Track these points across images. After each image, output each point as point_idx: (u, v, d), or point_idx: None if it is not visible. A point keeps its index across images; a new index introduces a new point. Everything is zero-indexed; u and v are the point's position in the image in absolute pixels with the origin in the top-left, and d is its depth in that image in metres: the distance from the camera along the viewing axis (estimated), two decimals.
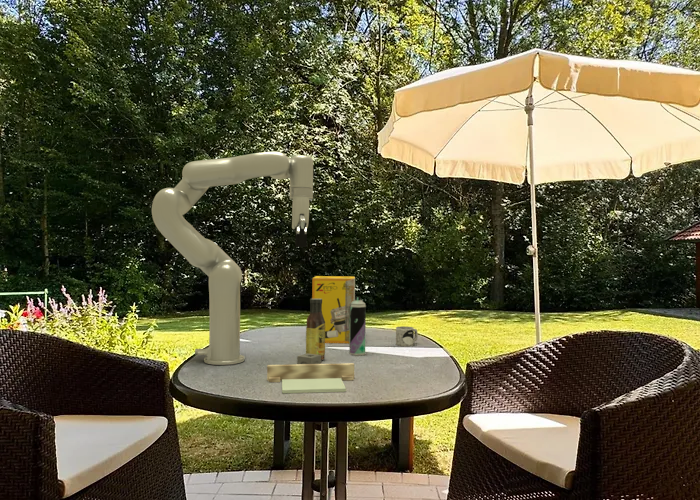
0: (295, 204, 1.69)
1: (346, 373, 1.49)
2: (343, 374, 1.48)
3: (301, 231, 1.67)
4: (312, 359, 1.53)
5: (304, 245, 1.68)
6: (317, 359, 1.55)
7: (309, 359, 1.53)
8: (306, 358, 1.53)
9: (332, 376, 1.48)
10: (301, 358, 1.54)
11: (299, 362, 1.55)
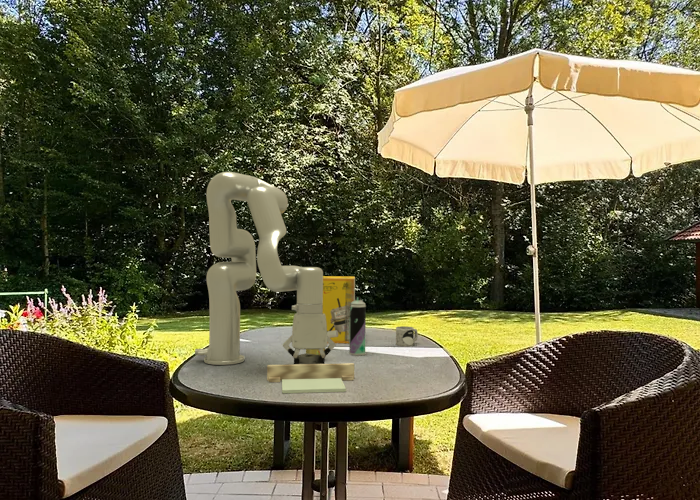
0: (325, 322, 1.54)
1: (346, 373, 1.49)
2: (343, 374, 1.48)
3: None
4: (310, 359, 1.53)
5: None
6: (315, 359, 1.55)
7: (307, 359, 1.53)
8: (304, 358, 1.53)
9: (332, 376, 1.48)
10: (299, 358, 1.54)
11: None
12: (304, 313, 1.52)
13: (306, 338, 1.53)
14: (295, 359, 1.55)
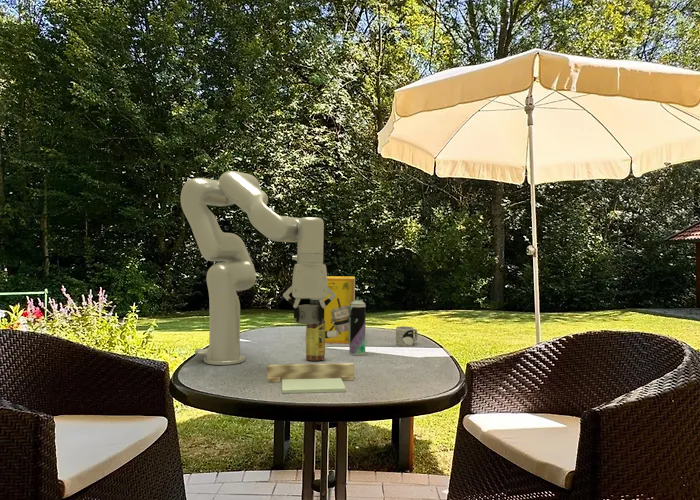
0: (326, 272, 1.55)
1: (346, 373, 1.49)
2: (343, 374, 1.48)
3: (327, 304, 1.56)
4: (310, 308, 1.53)
5: None
6: (315, 309, 1.55)
7: (307, 308, 1.53)
8: (304, 307, 1.53)
9: (332, 376, 1.48)
10: (299, 308, 1.54)
11: None
12: (304, 262, 1.52)
13: (306, 287, 1.53)
14: (295, 309, 1.55)
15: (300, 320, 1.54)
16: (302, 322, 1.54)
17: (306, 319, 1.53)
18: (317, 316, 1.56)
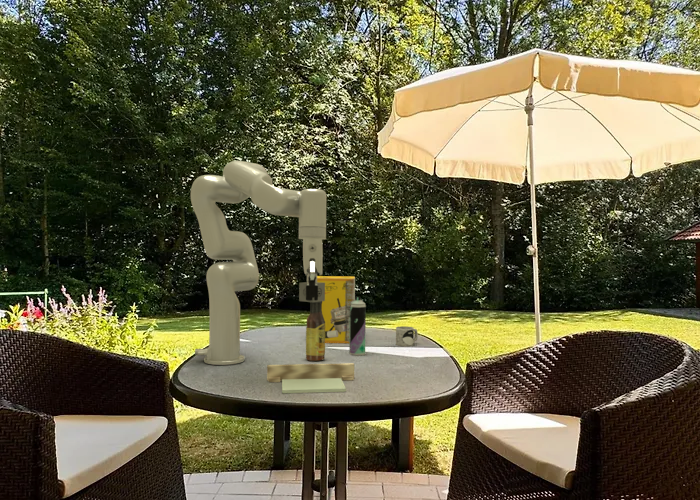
0: None
1: (346, 373, 1.49)
2: (343, 374, 1.48)
3: None
4: None
5: None
6: None
7: (323, 284, 1.48)
8: (321, 284, 1.47)
9: (332, 376, 1.48)
10: (317, 285, 1.45)
11: None
12: (324, 236, 1.46)
13: None
14: (314, 287, 1.44)
15: None
16: (319, 300, 1.46)
17: (322, 296, 1.47)
18: None
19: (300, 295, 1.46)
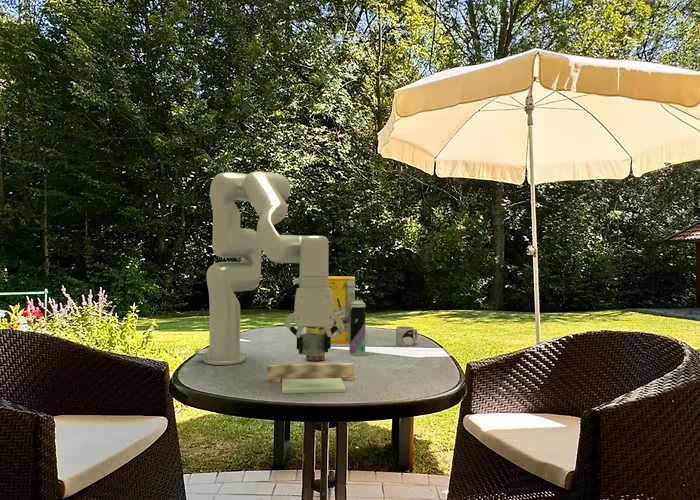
0: (331, 297, 1.38)
1: (346, 373, 1.49)
2: (343, 374, 1.48)
3: None
4: (315, 338, 1.36)
5: None
6: (321, 338, 1.39)
7: (312, 338, 1.36)
8: (308, 337, 1.37)
9: (332, 376, 1.48)
10: (303, 337, 1.38)
11: None
12: (308, 286, 1.36)
13: (310, 314, 1.37)
14: (298, 338, 1.38)
15: (304, 351, 1.38)
16: (306, 353, 1.37)
17: (310, 350, 1.36)
18: (323, 345, 1.39)
19: None
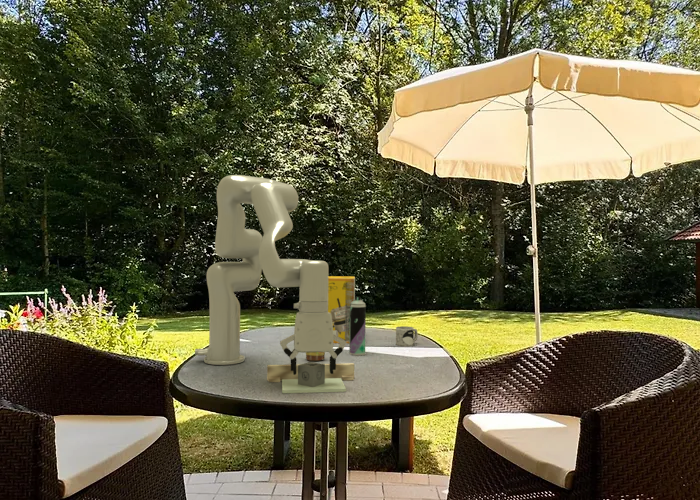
0: (331, 322, 1.38)
1: (346, 373, 1.49)
2: (343, 374, 1.48)
3: None
4: (315, 369, 1.37)
5: None
6: (320, 368, 1.39)
7: (311, 369, 1.36)
8: (308, 367, 1.37)
9: (332, 376, 1.48)
10: (302, 367, 1.38)
11: (300, 372, 1.38)
12: (307, 312, 1.36)
13: (310, 340, 1.37)
14: (292, 360, 1.38)
15: (303, 381, 1.38)
16: (305, 384, 1.37)
17: (310, 381, 1.37)
18: (322, 376, 1.40)
19: None
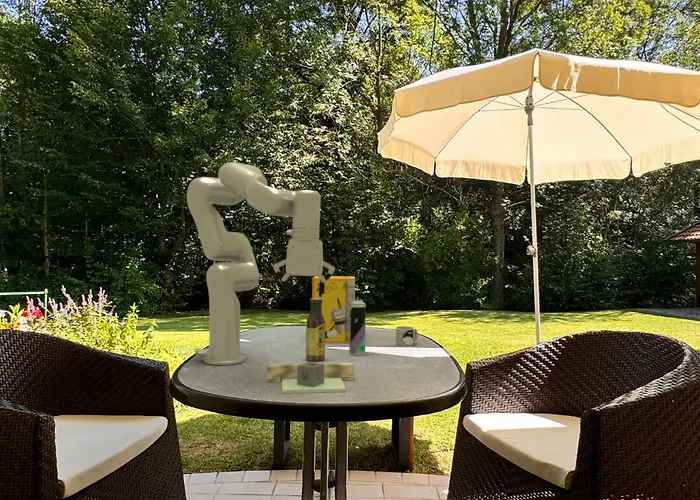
0: (321, 249, 1.48)
1: (346, 373, 1.49)
2: (343, 374, 1.48)
3: (327, 279, 1.50)
4: (314, 369, 1.37)
5: None
6: (320, 369, 1.39)
7: (311, 369, 1.36)
8: (307, 368, 1.37)
9: (332, 376, 1.48)
10: (302, 367, 1.38)
11: (299, 372, 1.38)
12: (299, 237, 1.46)
13: (301, 264, 1.47)
14: (283, 282, 1.48)
15: (303, 381, 1.38)
16: (305, 384, 1.37)
17: (309, 381, 1.37)
18: (322, 376, 1.40)
19: None
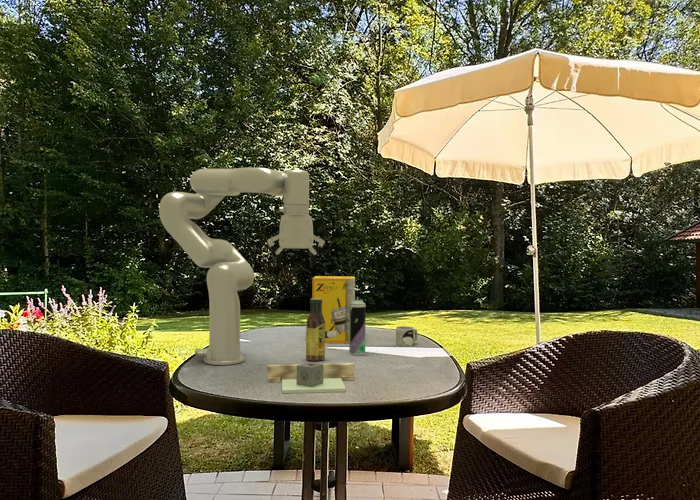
0: (311, 223, 1.60)
1: (346, 373, 1.49)
2: (343, 374, 1.48)
3: None
4: (313, 369, 1.37)
5: None
6: (319, 369, 1.39)
7: (310, 369, 1.36)
8: (307, 368, 1.37)
9: (332, 376, 1.48)
10: (301, 368, 1.38)
11: (299, 372, 1.38)
12: (291, 213, 1.58)
13: (293, 237, 1.58)
14: (277, 255, 1.60)
15: (302, 381, 1.38)
16: (304, 384, 1.37)
17: (309, 381, 1.37)
18: (321, 376, 1.40)
19: None
